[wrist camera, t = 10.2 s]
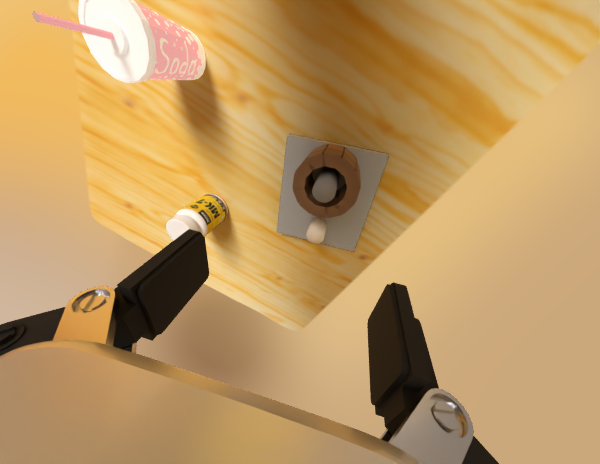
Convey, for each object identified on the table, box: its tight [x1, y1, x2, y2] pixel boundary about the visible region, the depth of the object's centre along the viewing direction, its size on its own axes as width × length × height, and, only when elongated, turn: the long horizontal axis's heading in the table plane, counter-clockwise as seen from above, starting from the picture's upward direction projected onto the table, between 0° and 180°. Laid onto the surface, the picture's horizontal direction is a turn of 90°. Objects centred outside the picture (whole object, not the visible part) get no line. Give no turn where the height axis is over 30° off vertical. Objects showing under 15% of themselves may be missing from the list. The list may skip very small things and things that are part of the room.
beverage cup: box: [33, 0, 206, 83], centre depth 19 cm, size 6×6×14 cm
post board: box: [277, 134, 389, 252], centre depth 27 cm, size 14×12×7 cm
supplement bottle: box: [166, 194, 228, 240], centre depth 31 cm, size 5×5×8 cm
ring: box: [292, 144, 361, 218], centre depth 25 cm, size 7×7×5 cm
